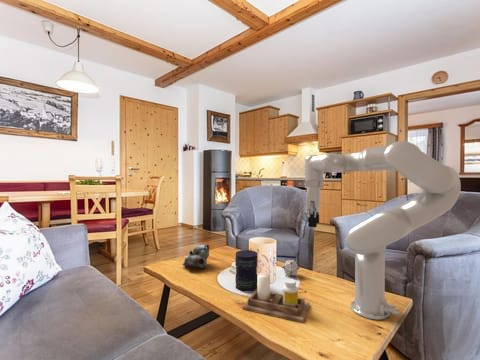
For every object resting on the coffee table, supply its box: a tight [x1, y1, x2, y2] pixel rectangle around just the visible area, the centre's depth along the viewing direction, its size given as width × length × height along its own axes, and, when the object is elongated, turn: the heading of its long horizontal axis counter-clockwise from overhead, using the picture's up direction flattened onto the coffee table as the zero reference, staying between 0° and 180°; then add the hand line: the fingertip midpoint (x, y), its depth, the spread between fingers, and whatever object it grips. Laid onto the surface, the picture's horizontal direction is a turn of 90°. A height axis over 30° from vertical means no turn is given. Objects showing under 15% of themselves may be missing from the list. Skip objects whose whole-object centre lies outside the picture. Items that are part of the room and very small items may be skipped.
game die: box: [281, 258, 301, 278], centre depth 126 cm, size 9×8×10 cm
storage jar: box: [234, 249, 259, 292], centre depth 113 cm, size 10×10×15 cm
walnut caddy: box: [241, 289, 310, 324], centre depth 95 cm, size 22×13×3 cm, turn 66°
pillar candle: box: [256, 272, 271, 303], centre depth 97 cm, size 5×5×10 cm
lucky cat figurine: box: [182, 244, 210, 270], centre depth 139 cm, size 15×12×14 cm
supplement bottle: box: [282, 278, 299, 308], centre depth 93 cm, size 5×5×10 cm
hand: (313, 225), depth 108 cm, fingers open, 9 cm apart
